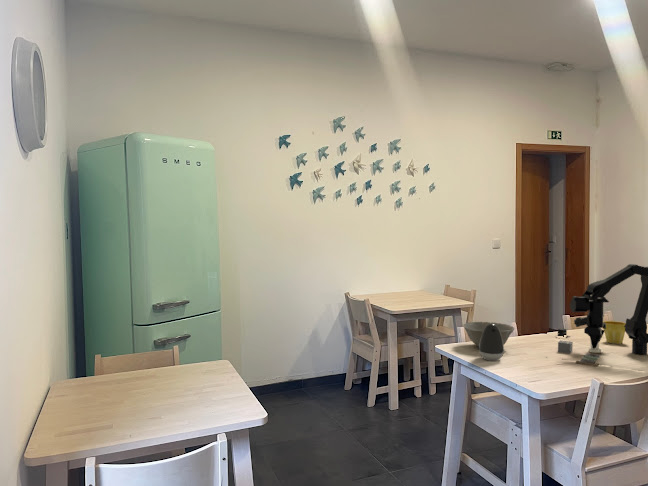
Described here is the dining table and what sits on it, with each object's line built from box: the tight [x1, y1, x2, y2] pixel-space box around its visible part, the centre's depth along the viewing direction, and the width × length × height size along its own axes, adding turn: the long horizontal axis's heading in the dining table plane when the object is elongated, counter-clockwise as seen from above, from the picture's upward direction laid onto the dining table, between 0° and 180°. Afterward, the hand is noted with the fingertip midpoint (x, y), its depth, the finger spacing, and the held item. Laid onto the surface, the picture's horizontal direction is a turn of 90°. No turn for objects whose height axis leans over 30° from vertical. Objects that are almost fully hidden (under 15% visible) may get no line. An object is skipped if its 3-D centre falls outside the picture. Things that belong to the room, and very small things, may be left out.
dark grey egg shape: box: [478, 324, 505, 362], centre depth 212 cm, size 10×10×15 cm
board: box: [575, 350, 604, 367], centre depth 215 cm, size 26×8×1 cm, turn 144°
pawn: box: [588, 339, 602, 354], centre depth 223 cm, size 5×5×10 cm
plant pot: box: [602, 320, 626, 345], centre depth 245 cm, size 10×10×10 cm
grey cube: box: [557, 339, 573, 354], centre depth 224 cm, size 5×5×5 cm
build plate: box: [557, 327, 568, 337], centre depth 257 cm, size 12×7×5 cm, turn 135°
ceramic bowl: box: [463, 321, 515, 348], centre depth 233 cm, size 22×23×10 cm
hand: (595, 347), depth 222 cm, fingers open, 5 cm apart
